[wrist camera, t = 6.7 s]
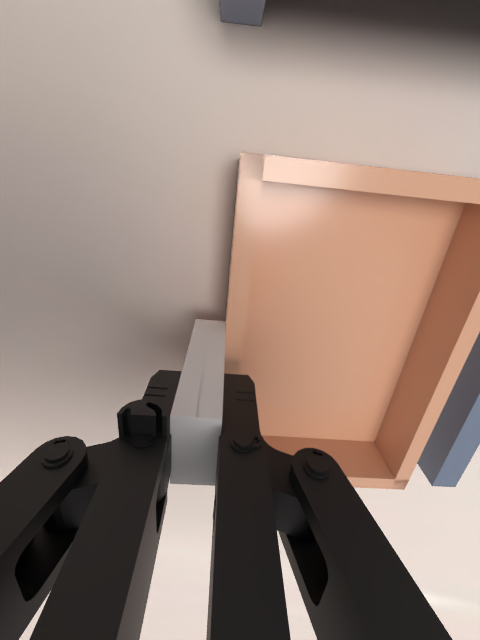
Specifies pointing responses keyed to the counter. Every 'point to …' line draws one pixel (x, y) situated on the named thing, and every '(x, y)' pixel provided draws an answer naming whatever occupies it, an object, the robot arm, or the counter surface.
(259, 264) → the dish
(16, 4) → the counter surface
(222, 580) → the robot arm
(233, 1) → the blue-grey box with strip
